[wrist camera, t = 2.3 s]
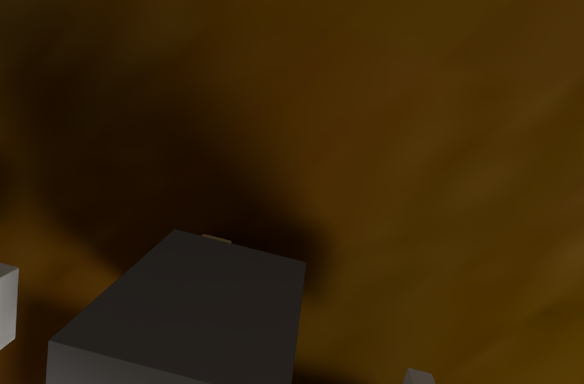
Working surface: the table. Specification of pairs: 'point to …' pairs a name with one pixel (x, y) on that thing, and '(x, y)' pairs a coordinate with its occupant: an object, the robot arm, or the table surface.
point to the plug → (187, 319)
